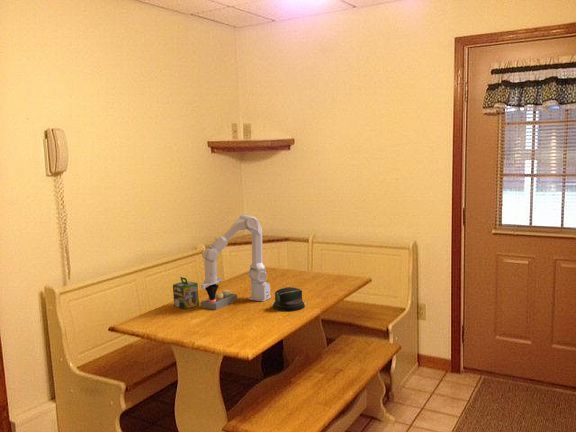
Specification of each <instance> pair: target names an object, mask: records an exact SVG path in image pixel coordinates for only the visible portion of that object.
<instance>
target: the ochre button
mask: <svg viewBox="0 0 576 432" xmlns="http://www.w3.org/2000/svg"><path fill="white" fill-rule="evenodd" d="M215 299H218V300H221V299H223V293H222V292H216V295H215Z"/></svg>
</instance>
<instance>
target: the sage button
mask: <svg viewBox="0 0 576 432" xmlns="http://www.w3.org/2000/svg"><path fill="white" fill-rule="evenodd" d="M221 293H223V296H226V297H228V296H230V294H231V290H229V289H225V290H222V292H221Z"/></svg>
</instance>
